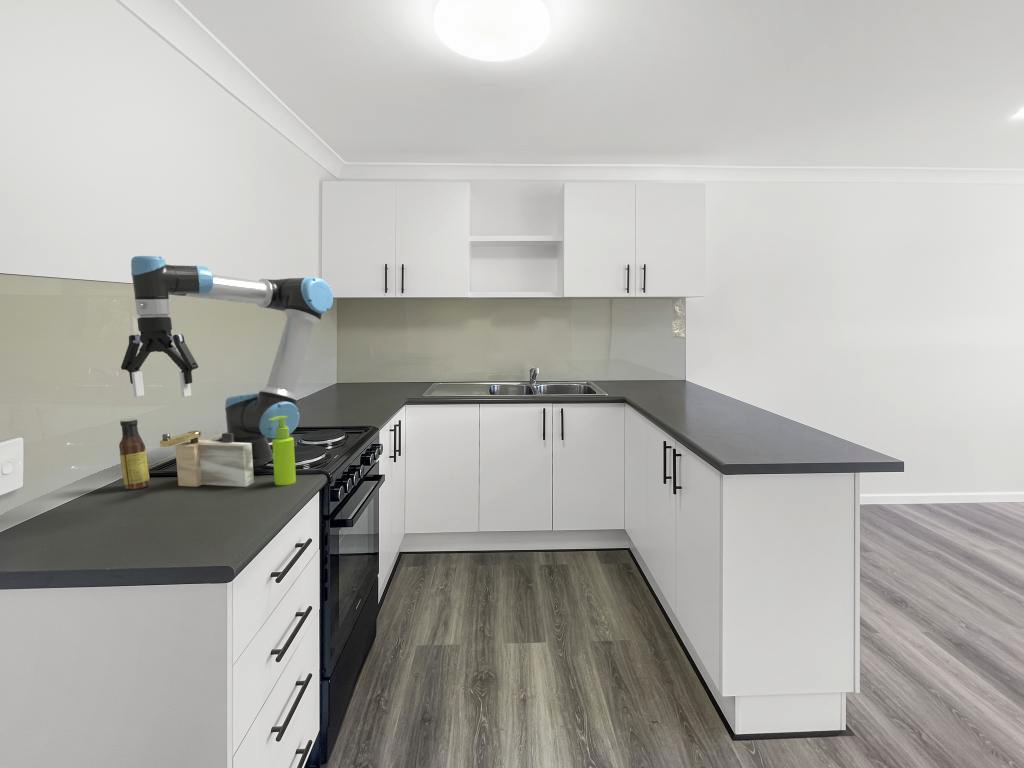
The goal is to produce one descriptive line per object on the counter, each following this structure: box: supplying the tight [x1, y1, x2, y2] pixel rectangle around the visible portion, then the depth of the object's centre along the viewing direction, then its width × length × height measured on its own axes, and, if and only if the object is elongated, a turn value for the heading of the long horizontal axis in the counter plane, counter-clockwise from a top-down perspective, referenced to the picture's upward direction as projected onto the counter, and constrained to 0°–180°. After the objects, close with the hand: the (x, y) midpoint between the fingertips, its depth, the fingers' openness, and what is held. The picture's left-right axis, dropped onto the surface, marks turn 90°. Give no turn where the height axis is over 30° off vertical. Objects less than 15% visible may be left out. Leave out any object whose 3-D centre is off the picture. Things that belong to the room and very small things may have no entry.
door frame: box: [174, 432, 255, 488], centre depth 164 cm, size 8×20×15 cm, turn 81°
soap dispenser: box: [269, 416, 297, 486], centre depth 164 cm, size 6×7×20 cm
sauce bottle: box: [118, 418, 150, 491], centre depth 160 cm, size 7×6×20 cm
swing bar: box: [159, 430, 202, 448], centre depth 160 cm, size 13×3×3 cm, turn 171°
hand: (162, 396), depth 150 cm, fingers open, 13 cm apart
